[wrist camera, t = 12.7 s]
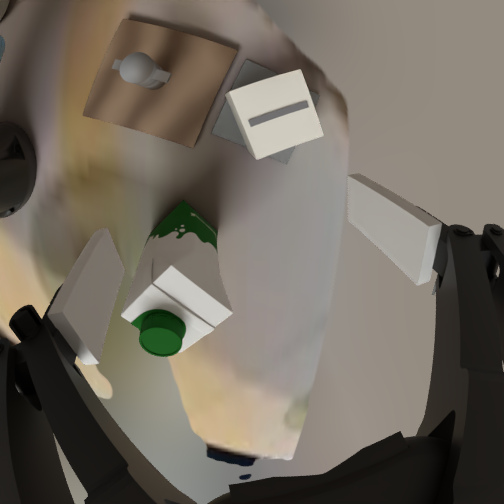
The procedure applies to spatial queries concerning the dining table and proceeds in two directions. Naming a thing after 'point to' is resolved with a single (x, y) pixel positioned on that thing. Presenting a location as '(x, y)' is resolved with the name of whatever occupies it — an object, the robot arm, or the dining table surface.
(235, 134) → the mat
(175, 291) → the milk carton
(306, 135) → the white drawer box
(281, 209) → the dining table surface
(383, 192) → the robot arm
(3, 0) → the grey bottle
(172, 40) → the post stand
